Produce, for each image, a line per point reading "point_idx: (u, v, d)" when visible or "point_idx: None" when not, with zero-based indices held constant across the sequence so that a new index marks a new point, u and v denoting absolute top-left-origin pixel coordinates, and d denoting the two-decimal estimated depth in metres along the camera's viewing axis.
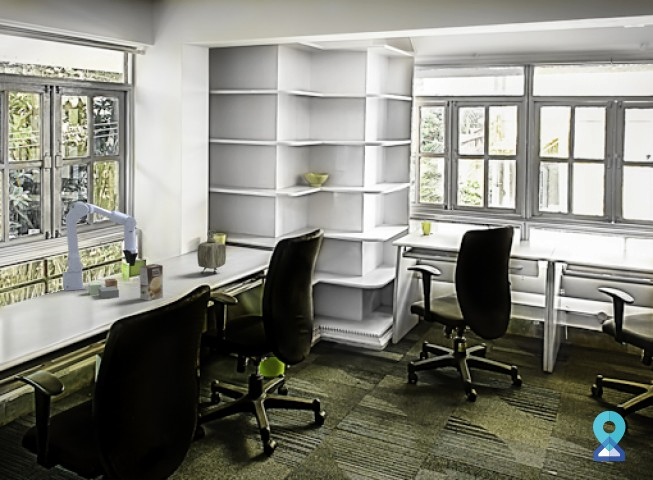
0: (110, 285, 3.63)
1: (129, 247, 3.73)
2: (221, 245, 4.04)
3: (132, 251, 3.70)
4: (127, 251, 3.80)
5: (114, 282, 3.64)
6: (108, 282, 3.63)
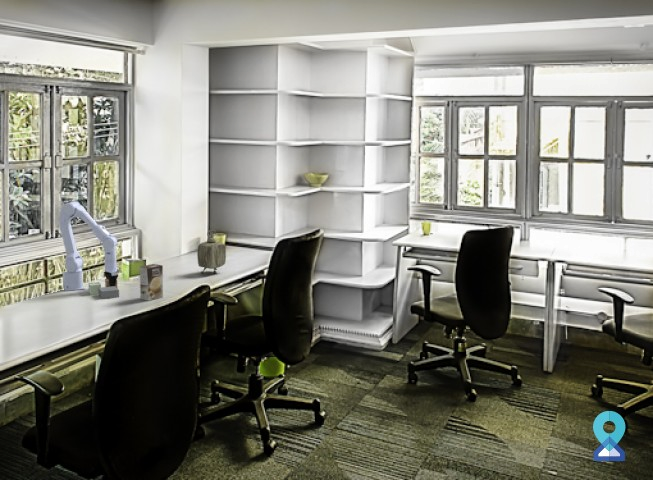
0: None
1: (110, 269, 3.62)
2: (221, 245, 4.04)
3: (113, 273, 3.58)
4: (108, 273, 3.67)
5: None
6: (108, 282, 3.62)
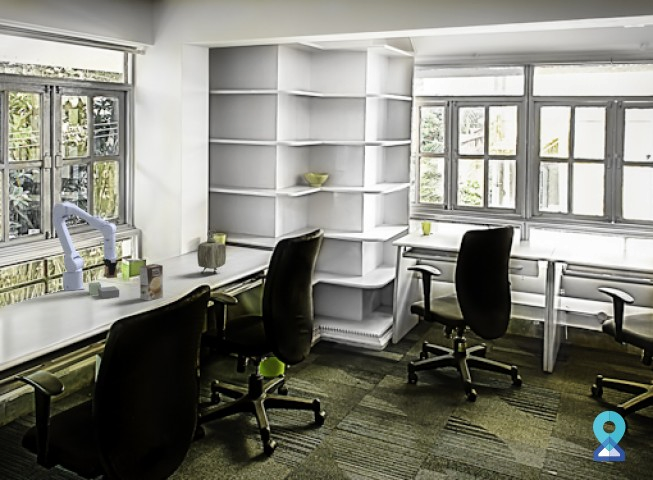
0: None
1: (109, 256, 3.58)
2: (221, 245, 4.04)
3: (112, 260, 3.55)
4: (107, 260, 3.64)
5: None
6: (107, 269, 3.59)
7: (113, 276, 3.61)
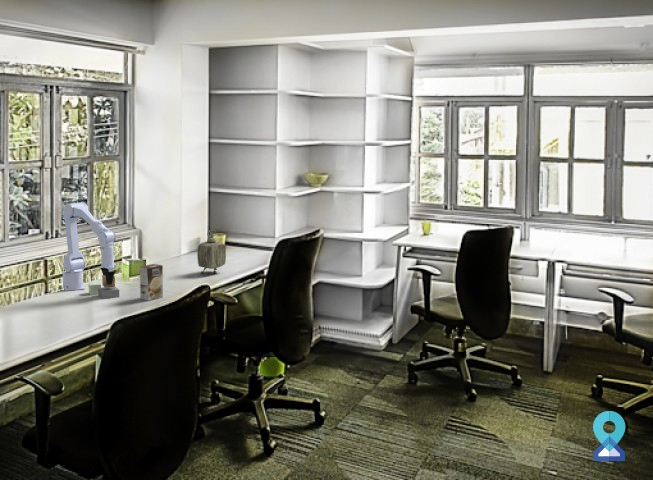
0: None
1: (107, 264, 3.48)
2: (221, 245, 4.04)
3: (110, 269, 3.44)
4: (105, 269, 3.53)
5: None
6: (105, 278, 3.49)
7: (111, 285, 3.50)
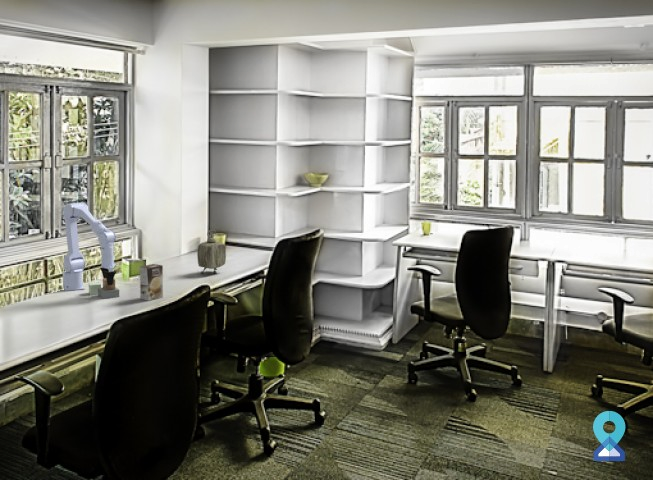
0: None
1: (107, 265, 3.48)
2: (221, 245, 4.04)
3: (110, 269, 3.44)
4: (105, 269, 3.54)
5: None
6: (105, 281, 3.49)
7: (111, 288, 3.51)
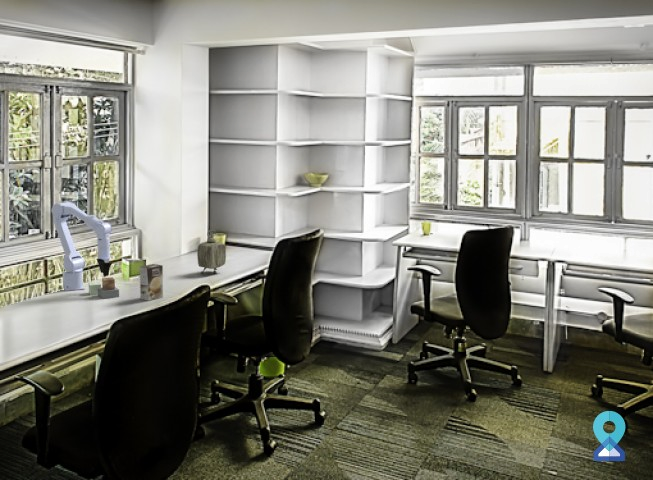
0: (107, 284, 3.50)
1: (103, 256, 3.54)
2: (221, 245, 4.04)
3: (105, 260, 3.51)
4: (101, 260, 3.60)
5: (111, 281, 3.50)
6: (105, 281, 3.49)
7: (111, 288, 3.51)
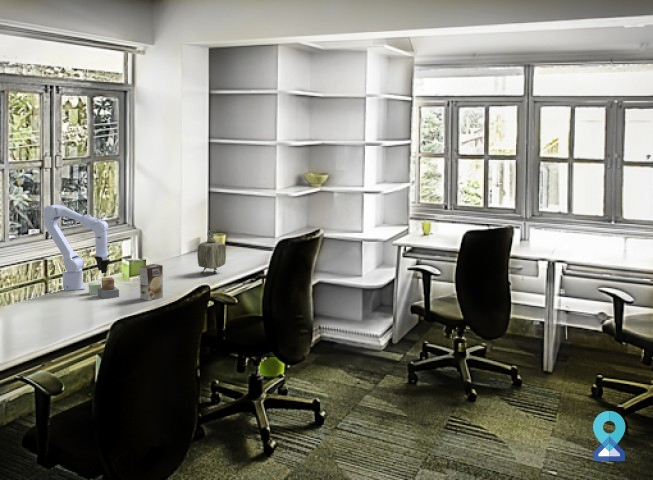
0: (107, 284, 3.50)
1: (100, 253, 3.59)
2: (221, 245, 4.04)
3: (103, 258, 3.56)
4: (99, 257, 3.65)
5: (111, 281, 3.50)
6: (104, 281, 3.49)
7: (110, 288, 3.51)
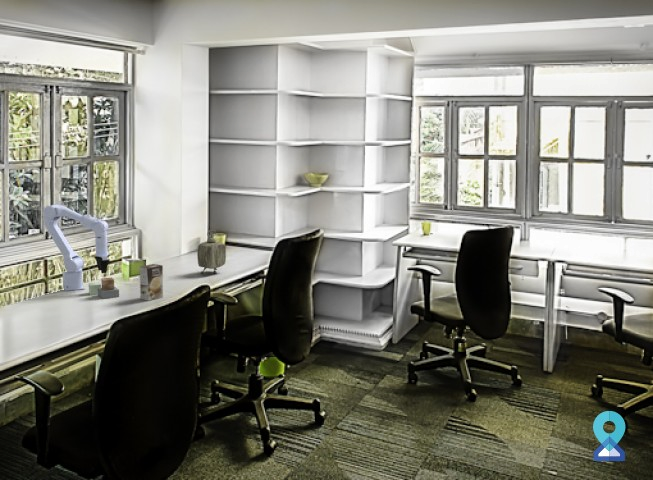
0: (107, 284, 3.49)
1: (100, 253, 3.59)
2: (221, 245, 4.04)
3: (103, 258, 3.56)
4: (99, 257, 3.65)
5: (111, 281, 3.50)
6: (104, 281, 3.49)
7: (110, 288, 3.50)
